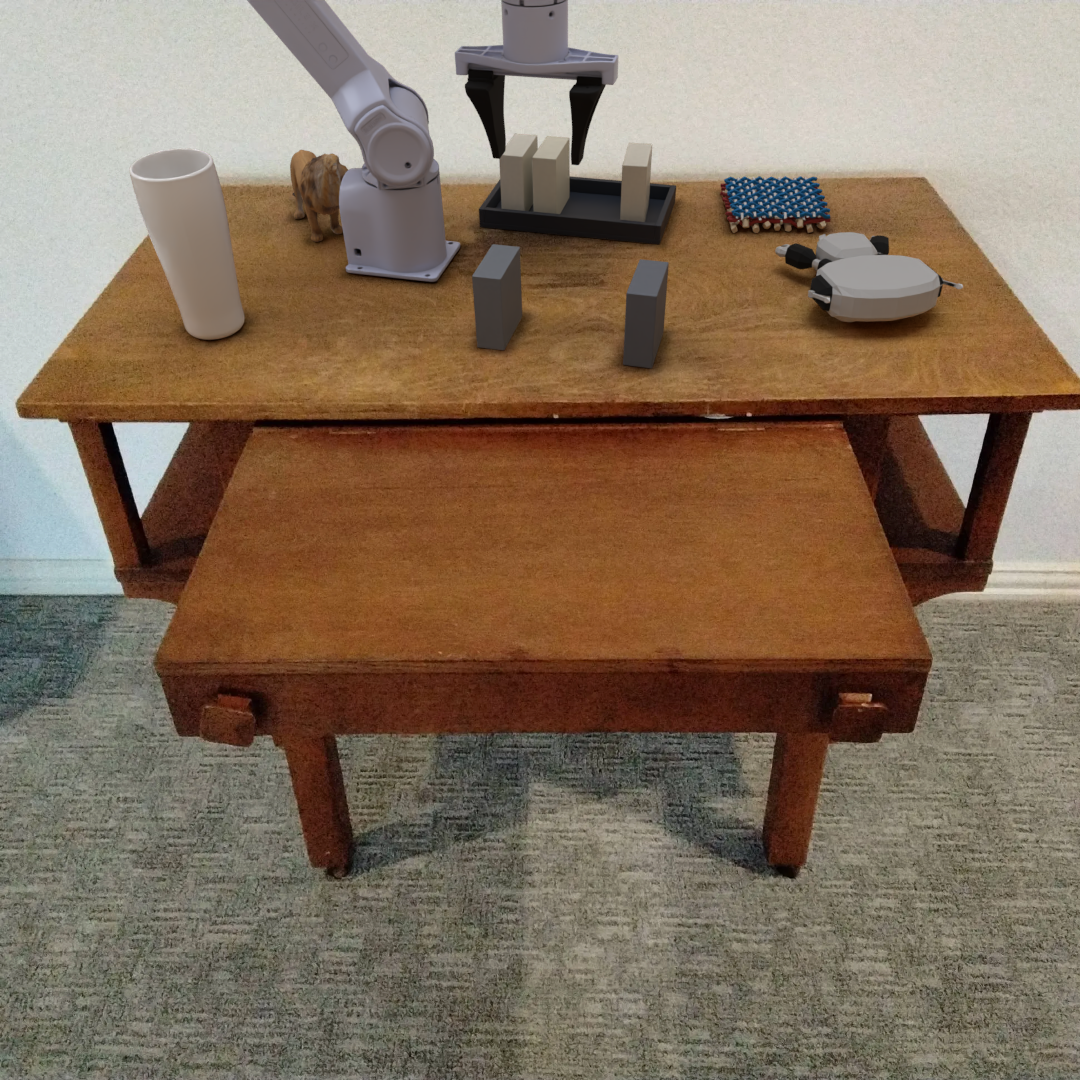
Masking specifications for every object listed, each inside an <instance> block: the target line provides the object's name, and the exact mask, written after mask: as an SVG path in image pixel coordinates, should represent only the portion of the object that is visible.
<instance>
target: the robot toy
mask: <svg viewBox="0 0 1080 1080" xmlns="http://www.w3.org/2000/svg"><path fill="white" fill-rule="evenodd" d="M816 243H817V244H816V247H815V251H814V250H813V249H812V248H810V247H808V246H805V245H803V244H801V243H797V242H796V243H792V244H787V243H786V244H782V245H779V246H776V248H775V250H774V253H775V255H776V256H778V257H780V258H784V261H785V262H784V264H786V265H788V266H790V267H793V268H795V269H797V270H806V269H811V268H813V270H814V271H815V272H816V274H815V275H816V276H814V277H812V278H811V282H810V289H809V290H807V298H810V299H812V300H813V301H814V302H815V303H816V304H817V306H819V308H820V309H822V311H825V312H827V314H828V315H829V316H830V317H832V318H835V319H836V320H838V321H840V322H843V323H854V322H892V321H898V320H902V319H907V318H912V317H915V316H918V315H922V314H924V313H926V312H929V310H931V309H933V308H934V307H935V306H936V305H937V302H938V298H939V297H941V295H942V290H943V287H944V285H945V286H949V287H952V288H955V289H957V290H962V289H964V285H963V284H962V283H955V282H953V281H948V280H945V279H944V277H942V276H941V275H940V274H939V273H937V272H936V271H935V270H934V269H932V267H930V266H929V265H928V264H926V263H925V262H923V261H922V260H921V259H920V258H916V257H911V256H906V255H898V254H890V238H889V237H887V236H885V235H880V234H879V235H872V236H870V238H868V237H867V236H866V235H865V234H864V233H860V232H854V231H845V232H841V231H840V232H837V233H836V232H835V233H834V232H833V233H829V234H828V235H826V233H823V234H821V235H819V236H818V241H817V242H816Z"/></svg>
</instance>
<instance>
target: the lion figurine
mask: <svg viewBox="0 0 1080 1080" xmlns="http://www.w3.org/2000/svg"><path fill="white" fill-rule="evenodd" d="M290 159H291V160H290V164H289V170H290V171H289V172H290V173H289V174H290V181H291V185H292V186H291V187H292V190H293V192H292V196H293V197H294V203H295V210H294V213H293V218H294V220H295V219H296V220H300V219H303V218H305V216H306V218H307V220H308V224H309V228H310V231H311V235H310V240H311V241H312V242H313V243H314V242H316V243H318V242H321V241H323V240H324V238H323V231H322V229H321V227H320V223H319V220H318V214H320V215H321V216H326V215H327V216H329V228H330V230H331V231H332V232H333V233H334V234H335V235H342V234H343V228H342V225H340V220H339V216H340V209H339V192H340V185H341V182H342V179H343V177H344V175H345V173H346V172H347V171H348V170H349V169H348V167H347V166H346V165H344V164H342V163H341V161H340V157H339V156H338V155H337V154H335V153H323V154H321V155H318V156H317V155H316V154H315V153H314V152H312V151H309V150H305V149H300V150H298V151H297V152H295V153H293V155H292V157H291V158H290ZM303 204H304V205H303ZM304 210H305V211H304ZM305 214H306V215H305Z"/></svg>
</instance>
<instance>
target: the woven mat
mask: <svg viewBox="0 0 1080 1080" xmlns="http://www.w3.org/2000/svg"><path fill="white" fill-rule="evenodd" d="M817 180H818V177H816V176H810V177H808V176H805V177H803V176H802V175H798V177H792V178H790V177H788V176H786V175H784V176H783V177H781V176H779V177H777V178H776V177H774V176H769V177H767V176H766V177H765V176H764V177H762V176H760V175H758V176H757V177H754V176H753V177H752V178H749V177H747V176H746V175H745V176H742V177H740V176H738V177H736V178H735V177H734V176H728V177H727V178H726V177H725V178H724V179H723V181H724V183H720V193H719V195H720V196H722V197H721V201H722V202H723V203H724V206H725V210H726V211H725V212H724V215H725V216H727V217H726V220H727V222H728V223H729V227H730V230H731V231H732V234H735V233H737V232H738V231H739V229H738V226H737V225H740V226H741V227H742V228H743V229H748V228H750V227H751V229H752V232H753V233H754V234H758V233H759V232H760V225H759V224H761V225H762V228H763V229H764V230H768V229H770V228H771V226H772V224H773V229H774V231H775V232H779V231H780V229H781V227H782V226H781V225H783V228H784V231H786V232H791V231H792V226H793V227H795V228H797V229H803V228H804V226H805V228H806V231H807V234H809V233H813V232H814V228H813V224H816V227H817V228H818V229H820V230H823V229H825V228H826V227H827V223H831V219H832V218H831V214H830V213H831V209H830V208H828V207H827V206H828V204H829V203H828V201H823V200H825V198H826V196H825V195H822V192H823V189H821V188H820V185H821V184H820V183H819V182H817Z"/></svg>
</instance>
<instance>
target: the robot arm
mask: <svg viewBox="0 0 1080 1080" xmlns="http://www.w3.org/2000/svg"><path fill="white" fill-rule="evenodd" d="M246 1H247V2H248V4H250V6H251V7H252V8H253V9H254V10H255V11H256V13H257V14H258V15H259V16H260V18H261V19H262V20H263V21H264V23H266V25H267V26H268V27H269V28H270V29H271V30H272V32H273V33H274V34H275V35H276V36H277V37H278V38H279V40H280V41H281V42H282V44H283V45H284V46H285V47H286V48H287V49H288V50H289V52H290V53H291V54H292V55H293V56H294V57H295V58H296V60H297V61H298V62H299V63H300V64H301V66H302V67H303V68H304V69H305V70H306V72H308V74H309V75H310V76H311V77H312V79H313V80H314V81H315V82H316V84H318V85H319V87H320V88H321V89H322V90H323V92H324V93H325V94H326V95H327V96H328V97H329V99H330V100H331V101H332V103H333V105H334V107H335V109H336V110H337V113H338V115H339V117H340V119H341V121H342V123H343V124H344V127H345V128H346V130H347V132H348V133H349V134H350V135H351V137H352V138H353V139H354V140H355V141H356V143H357V144H358V146H359V149H360V151H361V156H362V160H363V162H364V163H363V164H362V166H361V167H352V168H349V169H348V171H347V172H346V173H345V175H344V177H343V179H342V182H341V185H340V192H339V216H340V221H341V226H342V228H343V233H342V234H343V241H344V246H345V252H346V259H347V262H348V263H347V265H346V266H345V272H346V273H347V274H348V273H349V274H356V275H366V276H374V277H382V278H383V277H384V278H391V279H392V278H393V279H401V280H410V281H421V282H428V283H435V282H437V281H438V280H439V279H440V277H441V276H442V274H443V273H444V272H445V270H446V268H447V267H448V266H449V265H450V263H451V262H452V260H453V258H454V257H455V256H456V254H457V253H458V251H459V250H460V249H461V243H460V242H459V241H453V240H446V228H445V217H444V207H443V196H442V195H443V194H442V185H441V183H442V182H441V173H440V164H439V162H438V161H437V160H436V159H435V157H434V156H435V150H434V149H435V148H434V143H433V139H432V137H431V134H430V128H429V124H430V121H429V118H430V117H429V110H428V108H427V104H426V102H425V100H424V99H423V98H422V96H421V95H420V94H419V93H418V92H417V91H416V90H415V89H413V88H412V87H410V86H409V85H406V84H404V83H402V82H400V81H398V80H396V79H395V78H394V76H393V75H392V74H390V72H389V71H388V70H387V69H386V68H385V66H384V65H383V64H381V63H380V62H379V61H377V60H376V59H375V58H373V57H372V56H370V54H369V53H368V52H367V51H366V49H364V47H363V46H362V45H361V44H360V42H359V41H358V40H357V39H356V37H355V35H353V34H352V33H351V31H350V30H349V29H348V27H347V26H346V25H345V24H344V22H343V21H342V19H340V17H339V16H338V14H336V12H335V11H334V10H333V8H332V7H331V6H330V5H329V3H328V2H327V0H246ZM500 1H501V2H500V3H501V26H502V27H501V28H502V44H493V45H461V46H459V48H457V50H456V51H455V52H454V62H455V63H454V64H455V74H456V75H457V76H467V81H466V83H465V84H464V91H465V94H466V96H467V97H468V99H469V101H470V102H471V103H472V105H473V107H474V109H475V111H476V113H477V115H478V116H479V119H480V121H481V124H482V127H483V129H484V132H485V134H486V137H487V140H488V143H489V148H490V151H491V155H492V159H497V160H499V159H500V158H501V156H502V155H503V154H504V152H505V149H506V145H507V137H506V125H505V84H506V83H505V81H506V76H507V77H509V76H510V77H522V78H523V77H525V78H539V79H540V78H541V79H553V80H554V79H555V80H568V81H569V80H570V81H571V80H572V81H576V82H575V84H573V86H571V88H570V90H569V91H568V96H569V97H568V98H569V105H570V115H571V117H570V118H571V145H570V163H571V164H570V165H571V166H579V165H580V164H581V163H582V161H583V159H584V154H585V147H586V142H587V137H588V133H589V129H590V127H591V123H592V120H593V117H594V114H595V112H596V109H597V106H598V104H599V101H600V99H601V97H602V94H603V93H604V90H605V88H606V86H614V85H615V84H616V81H617V80H618V78H619V55H618V54H610V53H602V52H596V51H591V50H585V49H580V48H575V47H570V46H569V0H500Z"/></svg>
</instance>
